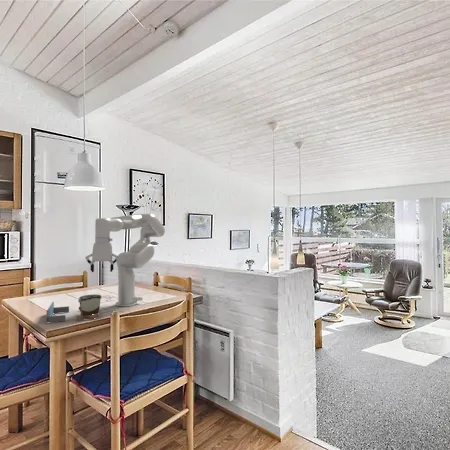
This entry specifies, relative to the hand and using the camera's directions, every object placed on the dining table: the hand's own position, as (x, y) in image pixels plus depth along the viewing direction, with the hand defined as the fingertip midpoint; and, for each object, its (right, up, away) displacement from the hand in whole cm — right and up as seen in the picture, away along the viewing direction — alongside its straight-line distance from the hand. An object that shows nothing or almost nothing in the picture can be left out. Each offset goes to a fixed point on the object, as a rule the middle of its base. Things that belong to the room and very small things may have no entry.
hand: (102, 271), depth 178 cm
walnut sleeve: (-6, -22, -4) cm, 23 cm away
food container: (-6, -23, -4) cm, 24 cm away
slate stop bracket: (-19, -22, -9) cm, 31 cm away
